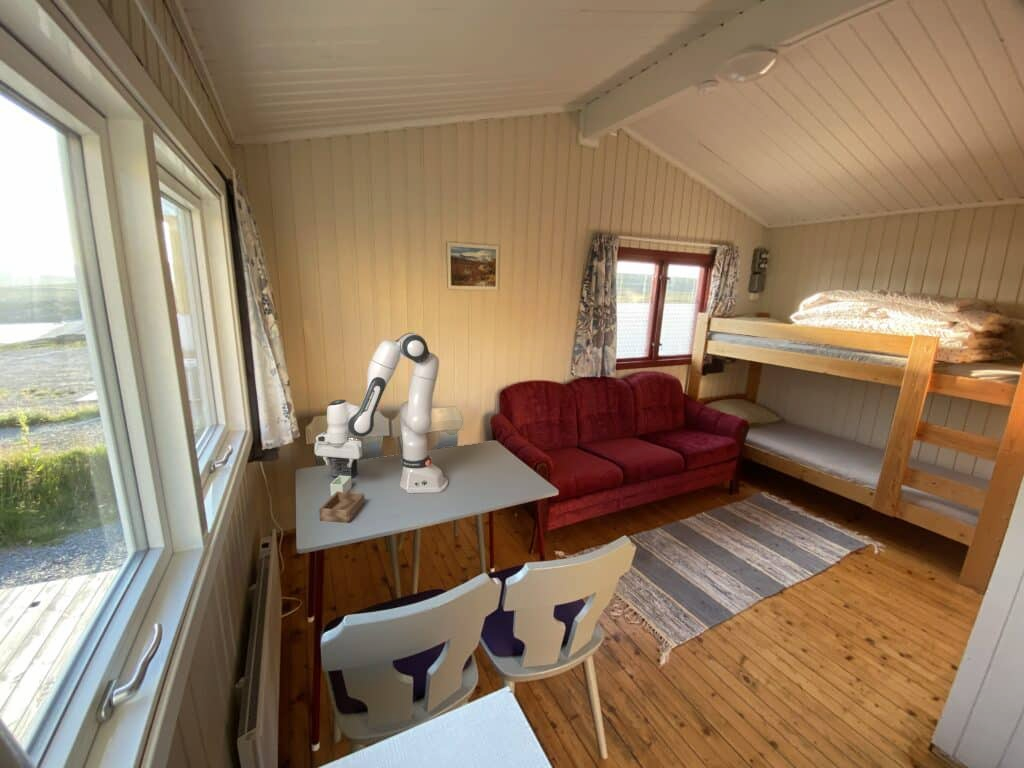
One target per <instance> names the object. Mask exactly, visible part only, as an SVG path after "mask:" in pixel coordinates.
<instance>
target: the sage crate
mask: <svg viewBox="0 0 1024 768" xmlns="http://www.w3.org/2000/svg"><path fill="white" fill-rule="evenodd" d="M329 486H330V487H329V488H330V498H331V497H332V496H333V495H334V494H335V493H336V492H350V491H351V490H352V488H353V487H352V479H351V476H341V475H339V476H338V477H335V479H334V480H333V481H332V482H331V483H330V484H329Z"/></svg>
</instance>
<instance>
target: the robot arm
mask: <svg viewBox="0 0 1024 768" xmlns="http://www.w3.org/2000/svg"><path fill="white" fill-rule="evenodd" d="M428 347H429V346H428V344H427V342H426V340H425V339H424V337H423V336H421V335H420V334H418V333H415V332H408V333H405V334H403V335H401V336H400V337H399V338H398V339H396V340H394V339H393V340H392V339H384V340H382V341H381V342H380V343H379V345H378V346H377V347H376V350H375V351H374V353H373V355H372V356H371V359H370V361H369V364H368V368H367V371H366V379H367V388H366V392H365V395H364V397H363V400H362V402H361V405H357V404H353V403H350V402H349V401H348V400H346V399H336V400H333V401H331V402H330V403H328V406H327V409H326V423H327V428H326V431H323V432H321V433H319V434H318V435H316V437H315V443H314V454H315V456H316V457H322V459H323V460H324V462H325V466H331V460H330V459H329V458H331V457H337V458H348V459H349V461H350V462H348V463H347V467H349V468H351V467H352V462H353V460H354V459H357V460H359V459H361V457H362V456H363V448H362V446H363V442H362V440H361V439H360V438H361V437H366V436H368V435H369V434H370V433H371V432H372V431H373V429H374V427H375V423H374V418H375V414H376V411H377V408H378V407H379V404H380V401H381V398H382V396H383V393H384V391H385V390H386V388H387V386H388V384H389V382H390V381H391V379H392V377H393V375H394V373H395V371H396V369H397V367H398V364H399V363H400V361H401V360H402V359H403V358H407V359H408V360H411V361H413V364H414V367H413V370H412V373H411V374H412V375H411V378H410V382H409V387H408V401H405V402H403V403H402V404H401V405H400V407H399V409H398V412H399V413H398V414H399V422H400V431H401V439H402V456H401V469H402V472H401V478H400V482H399V487H400V488H402V489H403V490H405V491H406V493H408V494H422V493H423V494H425V493H426V494H428V493H429V494H430V493H431V494H432V493H442V492H443V491H445V490H446V489H447V487H448V485H449V480H448V478H447V477H445V476H444V473H443V471H442V469H441V468H439V467H438V466H436V465H435V464H434V463H432V455H431V456H429V455H428V439H427V436H426V433H427V432H428V431H429V430H430V429H431V427H432V423H433V422H432V411H433V396H434V391H435V387H436V384H437V380H438V374H439V368H440V359H439V357H438V356H437V355H436V354H435V353H433V352H430V351H429V348H428ZM350 434H351V435H353V436H355V437H350ZM359 437H360V438H359Z"/></svg>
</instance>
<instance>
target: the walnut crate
mask: <svg viewBox="0 0 1024 768" xmlns="http://www.w3.org/2000/svg"><path fill="white" fill-rule="evenodd" d="M364 505H365V493H363V492H350V491H349V492H336V493H335V494H334V495H333V496H332V497H331V496H330V498H329V499H328V500H326V502H325V503H324V504H323V505H322V506H321V507H320V508H319V510H318V511H319V521H320V522H332V523H345V524H350V523H351V522H352V521H353V520H354V518H355V517H356V516H357V514H358V513H359V512H360V510H361V509H362V508H363V507H364Z"/></svg>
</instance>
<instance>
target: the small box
mask: <svg viewBox="0 0 1024 768" xmlns="http://www.w3.org/2000/svg"><path fill="white" fill-rule="evenodd" d="M330 461H331V465H330V466H331V478H337V477H338V476H339V475H341V476H351V480H353V479H354V477H355V476H357V475H358V459H354V460H353V462H352V467H351V468H349V467H347V463H348V462H350V461H349V459H348V458H337V457H330Z"/></svg>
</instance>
